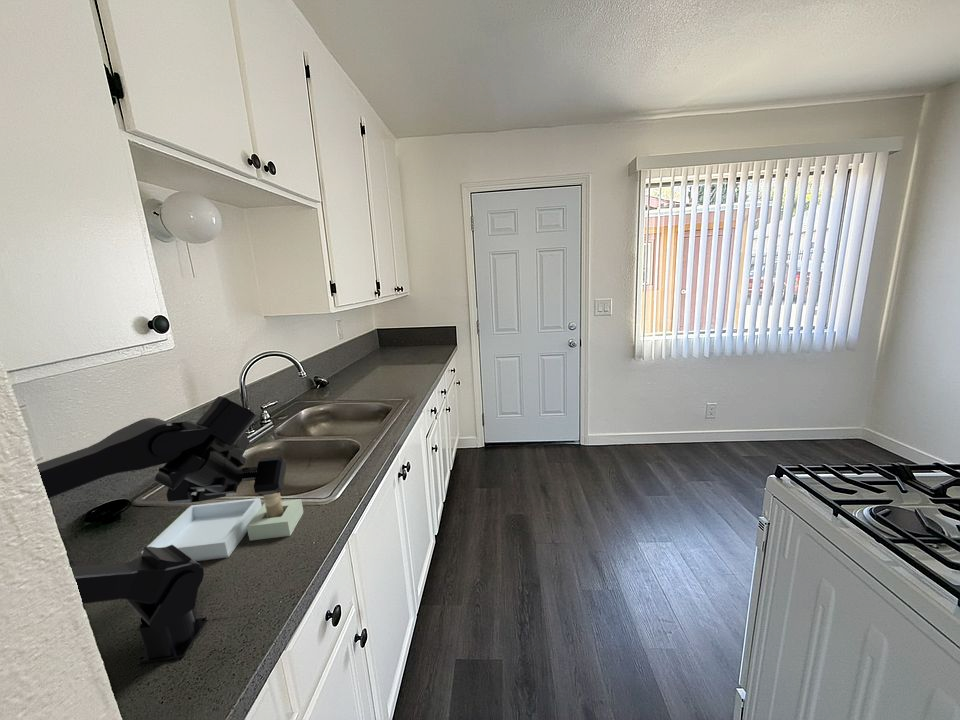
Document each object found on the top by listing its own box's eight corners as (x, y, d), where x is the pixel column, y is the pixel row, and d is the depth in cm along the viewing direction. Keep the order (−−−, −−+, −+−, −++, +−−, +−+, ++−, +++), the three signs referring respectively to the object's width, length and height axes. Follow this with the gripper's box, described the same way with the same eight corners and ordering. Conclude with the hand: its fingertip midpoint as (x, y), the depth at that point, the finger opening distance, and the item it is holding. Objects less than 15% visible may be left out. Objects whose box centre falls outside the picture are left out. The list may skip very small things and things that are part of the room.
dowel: (282, 529, 85) (272, 480, 82) (267, 531, 84) (257, 482, 82) (288, 520, 88) (278, 473, 85) (273, 522, 88) (263, 474, 85)
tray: (228, 557, 77) (224, 542, 76) (145, 567, 76) (141, 552, 75) (262, 510, 92) (260, 497, 91) (194, 518, 91) (190, 505, 90)
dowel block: (290, 535, 82) (287, 521, 82) (249, 540, 82) (246, 526, 81) (303, 512, 91) (301, 499, 90) (266, 516, 90) (263, 503, 89)
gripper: (274, 417, 68) (303, 447, 81) (161, 426, 66) (210, 456, 79) (262, 479, 62) (296, 502, 75) (138, 492, 60) (195, 512, 73)
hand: (249, 491), depth 76 cm, fingers open, 9 cm apart
